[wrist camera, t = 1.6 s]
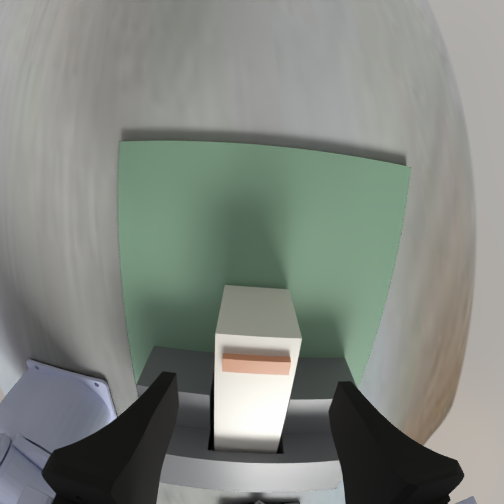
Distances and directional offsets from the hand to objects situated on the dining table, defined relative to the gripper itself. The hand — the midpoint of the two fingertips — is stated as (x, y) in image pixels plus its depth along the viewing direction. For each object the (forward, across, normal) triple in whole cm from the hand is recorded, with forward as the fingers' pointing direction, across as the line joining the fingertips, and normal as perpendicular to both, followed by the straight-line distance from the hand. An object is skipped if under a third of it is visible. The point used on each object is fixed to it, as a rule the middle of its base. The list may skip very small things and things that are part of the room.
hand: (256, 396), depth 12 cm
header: (+8, 0, +7) cm, 11 cm away
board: (+8, 0, 0) cm, 8 cm away
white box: (+8, 0, +3) cm, 9 cm away
